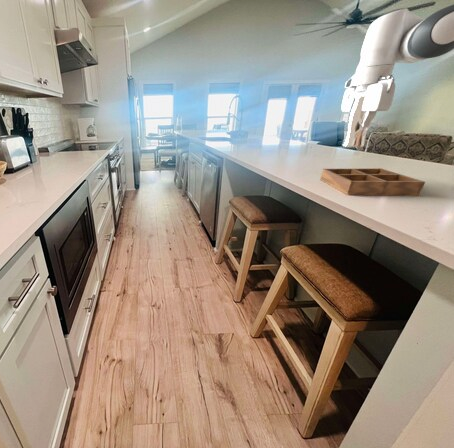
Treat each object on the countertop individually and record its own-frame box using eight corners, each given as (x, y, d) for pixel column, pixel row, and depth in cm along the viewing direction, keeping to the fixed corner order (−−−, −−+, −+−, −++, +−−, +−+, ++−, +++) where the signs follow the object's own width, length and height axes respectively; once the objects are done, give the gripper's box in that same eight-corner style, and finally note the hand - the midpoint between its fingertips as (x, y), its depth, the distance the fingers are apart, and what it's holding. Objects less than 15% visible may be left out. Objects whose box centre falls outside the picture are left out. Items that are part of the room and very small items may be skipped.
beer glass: (346, 147, 80) (360, 96, 74) (336, 145, 86) (348, 98, 80) (370, 146, 79) (386, 95, 73) (358, 144, 85) (371, 96, 79)
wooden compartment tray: (377, 179, 90) (381, 168, 88) (419, 195, 72) (425, 181, 71) (320, 179, 93) (322, 168, 91) (347, 194, 76) (351, 181, 74)
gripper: (409, 72, 64) (390, 128, 70) (363, 81, 83) (351, 125, 88) (382, 74, 65) (366, 128, 71) (342, 83, 84) (332, 125, 89)
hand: (357, 126), depth 80 cm, fingers closed on beer glass, 6 cm apart
